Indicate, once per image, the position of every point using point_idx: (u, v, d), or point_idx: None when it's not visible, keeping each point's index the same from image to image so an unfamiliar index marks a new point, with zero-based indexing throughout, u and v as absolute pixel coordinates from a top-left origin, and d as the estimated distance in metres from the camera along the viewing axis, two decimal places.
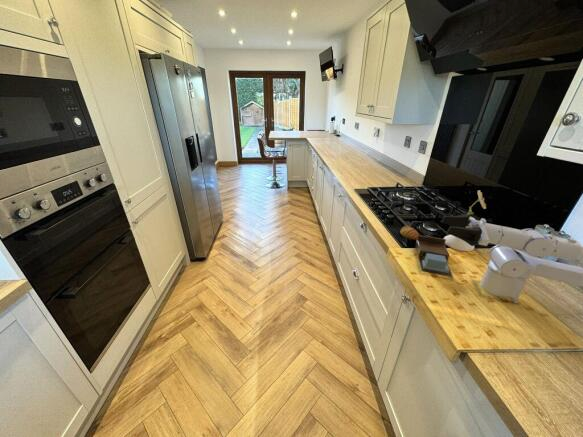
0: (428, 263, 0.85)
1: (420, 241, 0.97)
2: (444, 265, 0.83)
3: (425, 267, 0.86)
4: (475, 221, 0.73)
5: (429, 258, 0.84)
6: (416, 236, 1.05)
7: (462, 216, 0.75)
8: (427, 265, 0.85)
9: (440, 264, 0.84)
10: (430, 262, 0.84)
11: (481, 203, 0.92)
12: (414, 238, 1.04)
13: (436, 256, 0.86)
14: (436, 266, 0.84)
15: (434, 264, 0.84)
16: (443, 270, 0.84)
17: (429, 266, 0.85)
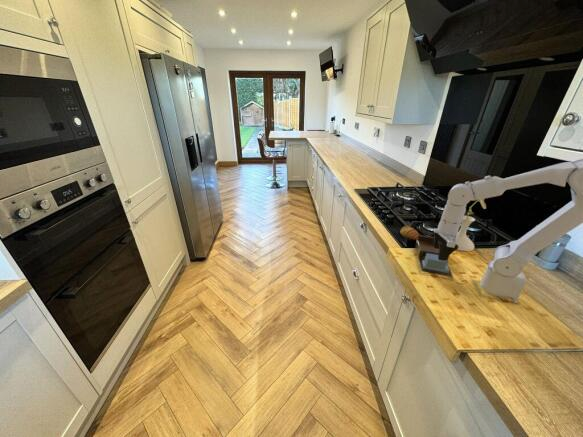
0: (428, 263, 0.85)
1: (420, 241, 0.97)
2: (444, 265, 0.83)
3: (425, 267, 0.86)
4: None
5: (429, 258, 0.84)
6: (416, 236, 1.05)
7: (434, 234, 0.86)
8: (427, 265, 0.85)
9: (440, 264, 0.84)
10: (430, 262, 0.84)
11: (481, 203, 0.92)
12: (414, 238, 1.04)
13: (436, 256, 0.86)
14: (436, 266, 0.84)
15: (434, 264, 0.84)
16: (443, 270, 0.84)
17: (429, 266, 0.85)
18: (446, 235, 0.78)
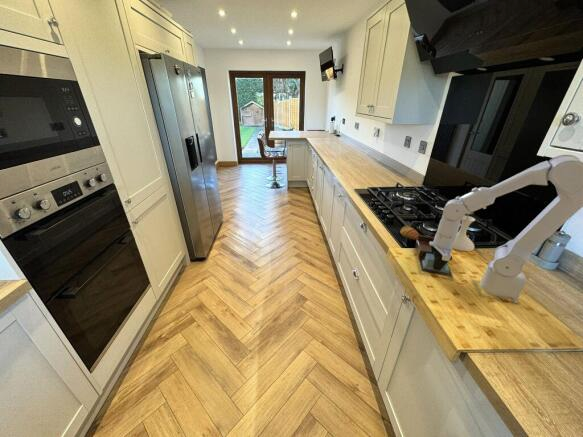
0: (428, 263, 0.85)
1: (420, 241, 0.97)
2: (444, 265, 0.83)
3: (425, 267, 0.86)
4: None
5: (429, 258, 0.84)
6: (416, 236, 1.05)
7: (431, 249, 0.87)
8: (427, 265, 0.85)
9: None
10: (430, 262, 0.84)
11: None
12: (414, 238, 1.04)
13: None
14: None
15: None
16: (443, 270, 0.84)
17: (429, 266, 0.85)
18: (441, 248, 0.80)
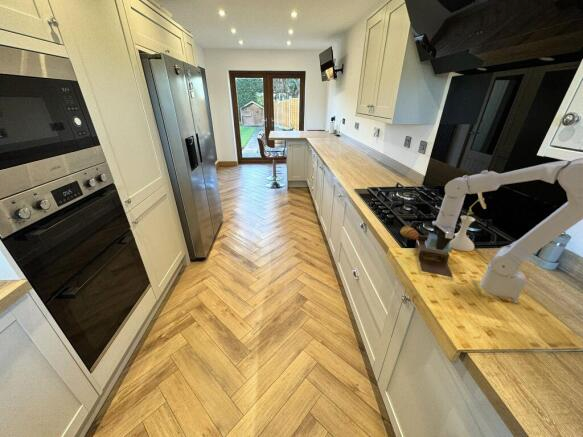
0: (431, 243, 0.85)
1: (420, 241, 0.97)
2: (447, 244, 0.83)
3: (428, 247, 0.86)
4: None
5: (432, 238, 0.85)
6: (416, 236, 1.05)
7: (434, 229, 0.87)
8: (430, 245, 0.85)
9: None
10: (433, 242, 0.85)
11: (481, 203, 0.92)
12: (414, 238, 1.04)
13: None
14: None
15: None
16: (446, 250, 0.84)
17: (432, 246, 0.85)
18: (444, 227, 0.80)
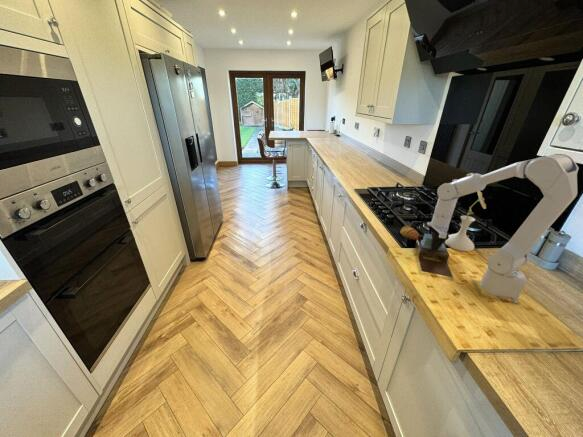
0: (426, 242, 0.91)
1: (420, 241, 0.97)
2: None
3: (423, 246, 0.92)
4: None
5: (427, 237, 0.91)
6: (416, 236, 1.05)
7: (429, 229, 0.94)
8: (425, 244, 0.92)
9: None
10: (428, 241, 0.91)
11: (481, 203, 0.92)
12: (414, 238, 1.04)
13: None
14: None
15: (431, 243, 0.91)
16: (440, 248, 0.91)
17: (427, 245, 0.92)
18: (438, 228, 0.87)
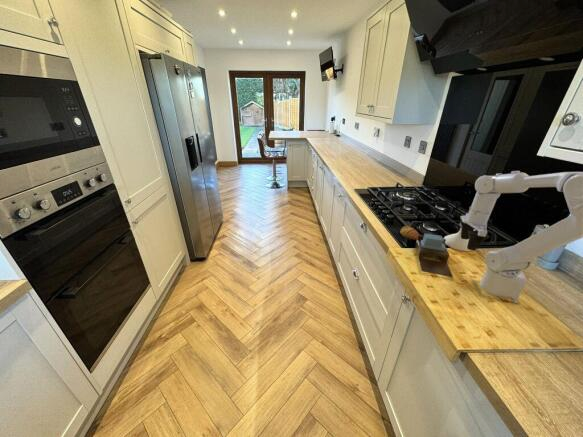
0: (426, 242, 0.91)
1: (420, 241, 0.97)
2: (441, 244, 0.90)
3: (423, 246, 0.92)
4: None
5: (427, 237, 0.91)
6: (416, 236, 1.05)
7: (462, 225, 0.88)
8: (425, 244, 0.92)
9: (437, 243, 0.90)
10: (428, 241, 0.91)
11: None
12: (414, 238, 1.04)
13: (433, 235, 0.92)
14: (433, 245, 0.91)
15: (431, 243, 0.91)
16: (440, 248, 0.91)
17: (427, 245, 0.92)
18: (476, 225, 0.80)
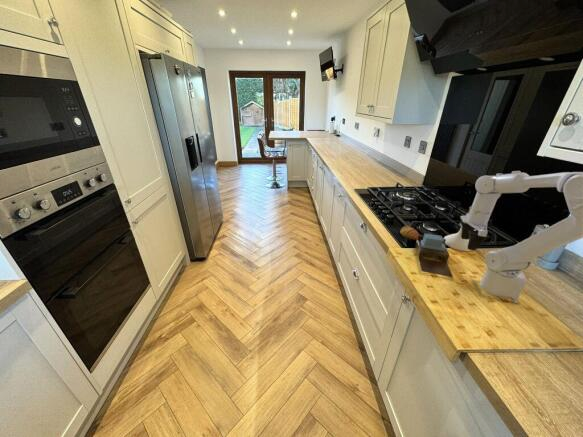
0: (426, 242, 0.91)
1: (420, 241, 0.97)
2: (441, 244, 0.90)
3: (423, 246, 0.92)
4: None
5: (427, 237, 0.91)
6: (416, 236, 1.05)
7: (462, 225, 0.88)
8: (425, 244, 0.92)
9: (437, 243, 0.90)
10: (428, 241, 0.91)
11: None
12: (414, 238, 1.04)
13: (433, 235, 0.92)
14: (433, 245, 0.91)
15: (431, 243, 0.91)
16: (440, 248, 0.91)
17: (427, 245, 0.92)
18: (476, 225, 0.80)
